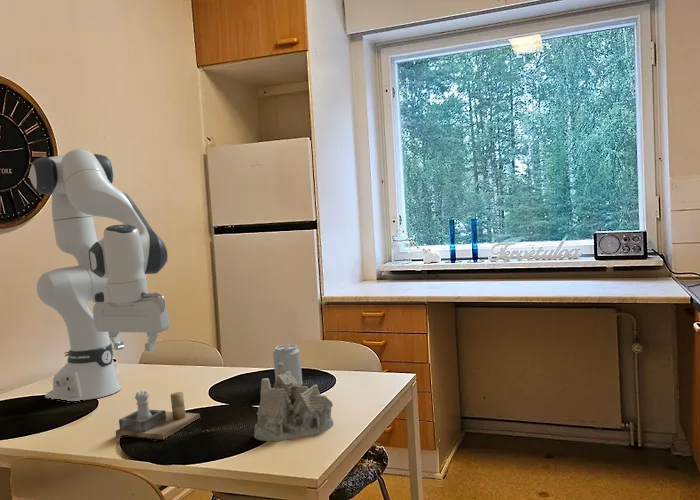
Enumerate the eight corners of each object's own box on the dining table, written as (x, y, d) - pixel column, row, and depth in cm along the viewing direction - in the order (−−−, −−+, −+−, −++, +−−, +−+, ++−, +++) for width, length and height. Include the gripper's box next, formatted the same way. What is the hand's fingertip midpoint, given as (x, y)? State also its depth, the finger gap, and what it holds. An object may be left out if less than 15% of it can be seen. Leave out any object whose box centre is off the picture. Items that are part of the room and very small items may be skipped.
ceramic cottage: (243, 435, 141) (242, 371, 140) (292, 415, 154) (291, 355, 153) (294, 452, 132) (293, 383, 131) (342, 428, 145) (341, 365, 144)
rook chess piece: (137, 423, 152) (134, 391, 152) (156, 420, 153) (152, 389, 152) (133, 429, 148) (129, 396, 147) (152, 427, 148) (148, 394, 148)
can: (271, 391, 174) (267, 349, 173) (284, 383, 181) (280, 343, 180) (295, 392, 171) (291, 349, 170) (307, 384, 178) (303, 343, 177)
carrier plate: (116, 437, 148) (112, 406, 147) (155, 416, 161) (152, 388, 160) (163, 441, 143) (160, 409, 142) (200, 419, 155) (197, 390, 155)
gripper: (172, 290, 147) (178, 347, 148) (105, 291, 155) (111, 345, 156) (154, 294, 141) (160, 354, 142) (86, 295, 149) (92, 352, 150)
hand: (134, 349), depth 149 cm, fingers open, 8 cm apart
